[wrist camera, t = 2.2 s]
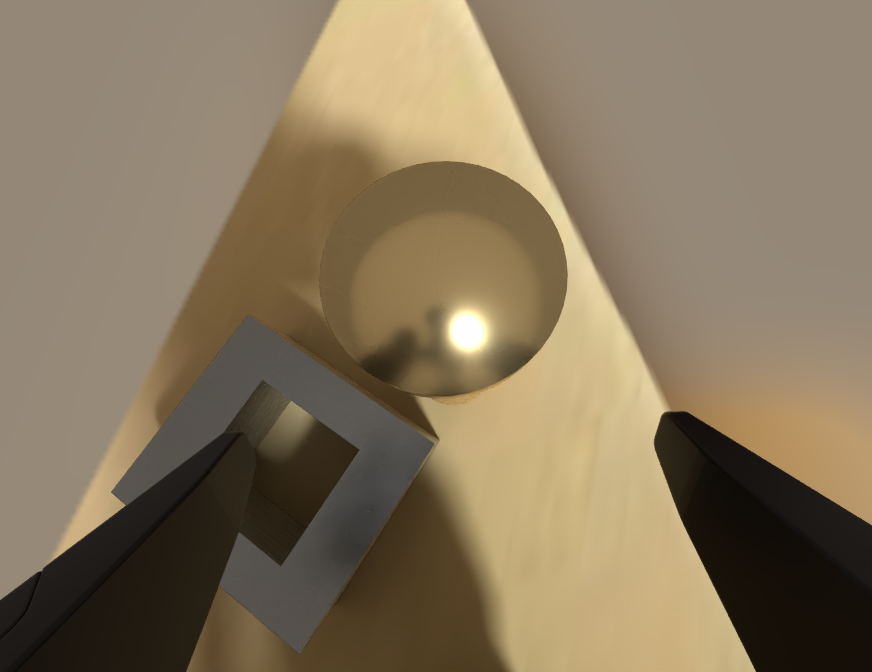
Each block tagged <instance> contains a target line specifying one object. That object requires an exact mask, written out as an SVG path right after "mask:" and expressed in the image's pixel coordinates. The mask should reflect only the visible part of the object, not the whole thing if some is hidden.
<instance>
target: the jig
mask: <svg viewBox="0 0 872 672" xmlns="http://www.w3.org/2000/svg"><path fill="white" fill-rule="evenodd" d="M290 401H293V402H294V403H295V404H297V405H298V406H300V407H301V408H302V409H304V410H305V411H306V412H308V413H309V414H311V415H312V416H313V417H315V418H316V419H318V420H319V421H320V422H322V423H323V424H324V425H326V426H327V427H329V428H330V429H331V430H333V431H334V432H336V433H337V434H338V435H340V436H341V437H342V438H344V439H345V440H347V441H348V442H349V443H351V444H352V445H353V446H355V447H356V448H358V449H359V452H358V453H357V455H356V456H355V458H354V459H353V460H352V462H351V463H350V465H349V466H348V468H347V469H346V471H345V472H344V474H343V475H342V477H341V478H340V480H339V481H338V483H337V484H336V486H335V487H334V489H333V490H332V492H331V493H330V495H329V496H328V498H327V499H326V501H325V502H324V504H323V505H322V506H321V508H320V509H319V511H318V512H317V514H316V515H315V517H314V518H313V520H312V521H311V523H310V524H309V526H308V527H307V529H305V528H304V527H303V526H301V525H300V524H299V523H297V522H296V521H295V520H294V519H292V518H291V517H290V516H289V515H287V514H286V513H285V512H284V511H282V510H281V509H280V508H278V507H277V506H276V505H275V504H273V503H272V502H271V501H270V500H268V499H267V498H266V497H265V496H263V495H262V494H261V493H259V492H258V491H257V490H256V489H254V488H253V487H252V486H251V489H250V493H249V497H248V500H247V504H246V508H245V512H244V515H243V519H242V523H241V526H240V529H239V533H238V536H237V539H236V541H235V544H234V547H233V550H232V552H231V555H230V558H229V560H228V563H227V565H226V568H225V571H224V573H223V576H222V579H221V581H220V584H219V586H220V587H221V588H223V589H224V590H225V591H226V592H227V593H228V594H229V595H231V596H232V597H233V598H234V599H235V600H236V601H238V602H239V603H240V604H241V605H242V606H243V607H245V608H246V609H247V610H248V611H249V612H250V613H252V614H253V615H254V616H255V617H256V618H257V619H258V620H260V621H261V622H262V623H263V624H264V625H265V626H267V627H268V628H269V629H270V630H271V631H272V632H274V633H275V634H276V635H277V636H278V637H279V638H281V639H282V640H283V641H284V642H285V643H286V644H287V645H289V646H290V647H291V648H292V649H293V650H294V651H296V652H297V653H298V654H300V653H301V651H302V650H303V649H304V647H305V646H306V644H307V643H308V642H309V640H310V639H311V637H312V636H313V634H314V633H315V632H316V630H317V629H318V627H319V626H320V625H321V623H322V622H323V620H324V619H325V617H326V616H327V615H328V613H329V612H330V610H331V609H332V608H333V606H334V605H335V603H336V601H337V600H338V598H339V597H340V595H341V594H342V592H343V590H344V589H345V587H346V586H347V584H348V583H349V581H350V580H351V578H352V576H353V575H354V573H355V572H356V570H357V569H358V567H359V566H360V564H361V562H362V561H363V559H364V558H365V556H366V555H367V553H368V551H369V550H370V548H371V547H372V545H373V544H374V542H375V541H376V539H377V537H378V536H379V534H380V533H381V531H382V530H383V528H384V526H385V525H386V523H387V522H388V520H389V519H390V517H391V516H392V514H393V512H394V511H395V509H396V508H397V506H398V505H399V503H400V502H401V500H402V498H403V497H404V495H405V494H406V492H407V491H408V489H409V487H410V486H411V484H412V483H413V481H414V480H415V478H416V477H417V475H418V473H419V472H420V470H421V469H422V467H423V466H424V464H425V463H426V461H427V459H428V458H429V456H430V455H431V453H432V452H433V450H434V448H435V447H436V445H437V444H438V442H439V441H440V440H439V439H437V438H436V437H434V436H433V435H431V434H430V433H428V432H427V431H426V430H424V429H423V428H421V427H420V426H418V425H417V424H415V423H414V422H412V421H411V420H410V419H408V418H407V417H405V416H404V415H402V414H401V413H399V412H398V411H396V410H395V409H394V408H392V407H391V406H389V405H388V404H386V403H385V402H383V401H382V400H380V399H379V398H378V397H376V396H375V395H373V394H372V393H370V392H369V391H367V390H366V389H365V388H363V387H362V386H360V385H359V384H357V383H356V382H354V381H353V380H351V379H350V378H349V377H347V376H346V375H344V374H343V373H341V372H340V371H338V370H337V369H335V368H334V367H333V366H331V365H330V364H328V363H327V362H325V361H324V360H322V359H321V358H319V357H318V356H317V355H315V354H314V353H312V352H311V351H309V350H308V349H306V348H305V347H303V346H302V345H301V344H299V343H298V342H296V341H295V340H293V339H292V338H290V337H289V336H288V335H286V334H284V333H282V332H280V331H278V330H277V329H275V328H273V327H271V326H269V325H267V324H265V323H263V322H261V321H260V320H258V319H256V318H254V317H252V316H250V315H247V317H246V318H245V319H244V320H243V322H242V323H241V324H240V326H239V327H238V328H237V330H236V331H235V332H234V333H233V335H232V336H231V337H230V339H229V340H228V341H227V343H226V344H225V345H224V346H223V348H222V349H221V350H220V352H219V353H218V354H217V355H216V357H215V358H214V359H213V361H212V362H211V363H210V365H209V366H208V367H207V368H206V370H205V371H204V372H203V374H202V375H201V376H200V378H199V379H198V380H197V381H196V383H195V384H194V385H193V387H192V388H191V389H190V391H189V392H188V393H187V394H186V396H185V397H184V398H183V400H182V401H181V402H180V403H179V405H178V406H177V407H176V409H175V410H174V411H173V413H172V414H171V415H170V416H169V418H168V419H167V420H166V422H165V423H164V424H163V426H162V427H161V428H160V429H159V431H158V432H157V433H156V435H155V436H154V437H153V438H152V440H151V441H150V442H149V444H148V445H147V446H146V448H145V449H144V450H143V451H142V453H141V454H140V455H139V457H138V458H137V459H136V461H135V462H134V463H133V464H132V466H131V467H130V468H129V470H128V471H127V472H126V474H125V475H124V476H123V477H122V479H121V480H120V481H119V483H118V484H117V485H116V486H115V488H114V489H113V490H112V492H111V493H112V494H113V495H115V496H116V497H117V498H118V499H119V500H120V501H122V502H123V503H124V504H125V505H128V504H129V503H130V502H132V501H133V500H134V499H136V498H137V497H138V496H140V495H141V494H142V493H144V492H145V491H146V490H148V489H149V488H150V487H152V486H153V485H154V484H156V483H157V482H158V481H160V480H161V479H162V478H164V477H165V476H166V475H168V474H169V473H170V472H172V471H173V470H174V469H176V468H177V467H178V466H179V465H181V464H182V463H183V462H185V461H186V460H187V459H189V458H190V457H191V456H193V455H194V454H195V453H197V452H198V451H199V450H201V449H202V448H203V447H205V446H206V445H207V444H209V443H210V442H211V441H213V440H214V439H215V438H217V437H218V436H219V435H221V434H222V433H224V432H233V431H242V432H244V433H245V434H246V435H247V437H248V439H249V441H250V444H251V446H252V448H253V450H254V451H255V449H256V448H257V446H258V445H259V444H260V442H261V441H262V440H263V438H264V437H265V435H266V434H267V433H268V431H269V430H270V428H271V427H272V426H273V424H274V423H275V422H276V420H277V419H278V417H279V416H280V415H281V413H282V412H283V410H284V409H285V408H286V406H287V405H288V403H289V402H290Z"/></svg>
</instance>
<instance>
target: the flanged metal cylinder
mask: <svg viewBox="0 0 872 672" xmlns="http://www.w3.org/2000/svg"><path fill="white" fill-rule="evenodd" d="M567 276H568V274H567V261H566V256H565V251H564V247H563V243H562V240H561V238H560V235H559V233H558V230H557V228H556V226H555V224H554V223H553V221H552V219H551V217H550V216H549V214H548V213H547V212H546V210H545V209H544V207H543V206H542V205H541V204H540V203H539V202H538V200H537V199H536V198H535V197H534V196H533V195H532V194H531V193H530V192H528V191H527V190H526V189H525V188H523V187H522V186H521V185H520V184H518V183H516V182H515V181H513V180H512V179H510V178H508V177H507V176H505V175H503V174H500V173H498V172H496V171H494V170H491V169H488V168H485V167H482V166H479V165H474V164H469V163H463V162H450V161H444V162H429V163H423V164H417V165H414V166H410V167H406V168H403V169H401V170H398V171H396V172H393V173H391V174H389V175H387V176H385V177H383V178H381V179H379V180H378V181H376V182H374V183H373V184H372V185H370V186H369V187H367V188H366V189H365V190H363V191H362V192H361V193H360V194H359V195H358V196H357V197H356V198H355V199H353V200H352V202H351V203H350V204H349V205H348V206H347V207H346V209H345V210H344V211H343V212H342V214H341V215H340V217H339V218H338V220H337V221H336V223H335V224H334V226H333V228H332V230H331V232H330V234H329V236H328V239H327V242H326V245H325V248H324V250H323V255H322V260H321V265H320V278H319V283H320V296H321V301H322V306H323V311H324V313H325V316H326V319H327V322H328V324H329V326H330V328H331V330H332V332H333V334H334V336H335V338H336V339H337V341H338V342H339V344H340V345H341V346H342V348H343V349H344V350H345V352H346V353H347V354H348V355H349V356H350V357H351V358H352V359H353V360H354V361H355V362H356V363H357V364H358V365H359V366H361V367H362V368H363V369H365V370H366V371H367V372H368V373H370V374H371V375H373V376H375V377H376V378H378V379H380V380H382V381H383V382H385V383H387V384H388V385H390V386H392V387H394V388H396V389H399V390H401V391H404V392H406V393H410V394H413V395H417V396H421V397H429V398H432V399H433V400H435V401H437V402H440V403H443V404H448V405H458V404H463V403H466V402H469V401H471V400H473V399H474V398H476V397H477V396H478V395H479V394H480V393H481V392H483V391H486V390H488V389H490V388H493V387H495V386H497V385H499V384H500V383H502V382H504V381H505V380H507V379H509V378H510V377H511V376H513V375H514V374H515V373H516V372H518V371H519V370H520V369H521V368H522V367H523V366H524V365H526V364H527V363H528V362H529V361H530V360H531V359H532V358H533V356H534V355H535V354H536V353H537V352H538V351H539V350H540V349H541V348H542V346H543V345H544V344H545V342H546V341H547V339H548V338H549V337H550V335H551V333H552V331H553V330H554V328H555V326H556V324H557V322H558V320H559V317H560V314H561V311H562V308H563V305H564V301H565V296H566V291H567Z"/></svg>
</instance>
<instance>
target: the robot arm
mask: <svg viewBox="0 0 872 672" xmlns="http://www.w3.org/2000/svg"><path fill="white" fill-rule="evenodd" d="M654 447H655V451H656V454H657V456H658V459H659V462H660V465H661V467H662V470H663V473H664V475H665V478H666V481H667V484H668V486H669V489H670V492H671V494H672V497H673V500H674V503H675V505H676V508H677V510H678V513H679V515H680V518H681V520H682V522H683V525H684V527H685V529H686V531H687V533H688V535H689V537H690V539H691V541H692V543H693V545H694V547H695V549H696V551H697V553H698V555H699V557H700V559H701V561H702V563H703V565H704V567H705V569H706V571H707V573H708V576H709V578H710V580H711V582H712V584H713V586H714V588H715V590H716V592H717V594H718V596H719V598H720V600H721V602H722V604H723V606H724V608H725V610H726V612H727V614H728V616H729V618H730V620H731V622H732V624H733V626H734V628H735V630H736V632H737V634H738V636H739V638H740V640H741V642H742V644H743V646H744V648H745V650H746V652H747V654H748V656H749V658H750V661H751V663H752V665H753V667H754V669H755V671H756V672H872V525H870V524H869V523H867V522H865V521H864V520H862V519H861V518H859V517H857V516H856V515H854V514H852V513H851V512H849V511H848V510H846V509H844V508H843V507H841V506H839V505H838V504H836V503H835V502H833V501H831V500H830V499H828V498H826V497H825V496H823V495H822V494H820V493H818V492H817V491H815V490H813V489H812V488H810V487H808V486H807V485H805V484H804V483H802V482H800V481H799V480H797V479H795V478H794V477H792V476H790V475H789V474H787V473H786V472H784V471H782V470H781V469H779V468H778V467H776V466H774V465H772V464H771V463H769V462H768V461H766V460H764V459H763V458H761V457H760V456H758V455H756V454H755V453H753V452H751V451H750V450H748V449H747V448H745V447H743V446H742V445H740V444H738V443H737V442H735V441H733V440H732V439H730V438H729V437H727V436H726V435H724V434H722V433H721V432H719V431H717V430H716V429H714V428H713V427H711V426H709V425H707V424H706V423H704V422H703V421H701V420H699V419H698V418H696V417H694V416H693V415H691V414H690V413H688V412H685V411H668V412H664V413H663V414H662V416H661V419H660V422H659V425H658V428H657V432H656V435H655V438H654ZM256 466H257V458H256V455H255V452H254V450H253V448H252V446H251V444H250V441H249V439H248V437H247V435H246V434H245V433H244V432H242V431H233V432H224V433H222V434H221V435H219V436H218V437H217V438H215V439H214V440H213V441H211V442H210V443H209V444H207V445H206V446H205V447H203V448H202V449H201V450H199V451H198V452H197V453H195V454H194V455H193V456H191V457H190V458H189V459H187V460H186V461H185V462H183V463H182V464H181V465H179V466H178V467H177V468H176V469H174V470H173V471H172V472H170V473H169V474H168V475H166V476H165V477H164V478H162V479H161V480H160V481H158V482H157V483H156V484H154V485H153V486H152V487H150V488H149V489H148V490H146V491H145V492H144V493H142V494H141V495H140V496H138V497H137V498H136V499H134V500H133V501H132V502H130V503H129V504H128V505H126V506H125V507H124V508H122V509H121V510H120V511H118V512H117V513H116V514H114V515H113V516H112V517H110V518H109V519H108V520H106V521H105V522H104V523H102V524H101V525H100V526H98V527H97V528H96V529H94V530H93V531H92V532H90V533H89V534H88V535H86V536H85V537H84V538H82V539H81V540H80V541H78V542H77V543H76V544H74V545H73V546H72V547H70V548H69V549H68V550H66V551H65V552H64V553H62V554H61V555H60V556H58V557H57V558H56V559H54V560H53V561H52V562H50V563H49V564H48V565H46V566H45V567H44V568H43V570H42V571H39V572H37V573H36V574H34V575H33V576H32V577H30V578H29V579H28V580H26V581H25V582H24V583H22V584H21V585H20V586H18V587H17V588H16V589H14V590H13V591H12V592H10V593H9V594H8V595H6V596H5V597H4V598H2V599H1V600H0V672H186V671H187V668H188V665H189V663H190V660H191V657H192V655H193V652H194V650H195V647H196V644H197V642H198V639H199V636H200V634H201V631H202V629H203V626H204V623H205V621H206V618H207V615H208V613H209V610H210V608H211V605H212V602H213V600H214V597H215V594H216V592H217V589H218V586H219V584H220V581H221V579H222V576H223V573H224V571H225V568H226V565H227V563H228V560H229V558H230V555H231V552H232V550H233V547H234V544H235V541H236V539H237V536H238V533H239V529H240V526H241V523H242V519H243V515H244V512H245V508H246V504H247V500H248V497H249V493H250V489H251V485H252V482H253V478H254V474H255V470H256Z"/></svg>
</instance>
